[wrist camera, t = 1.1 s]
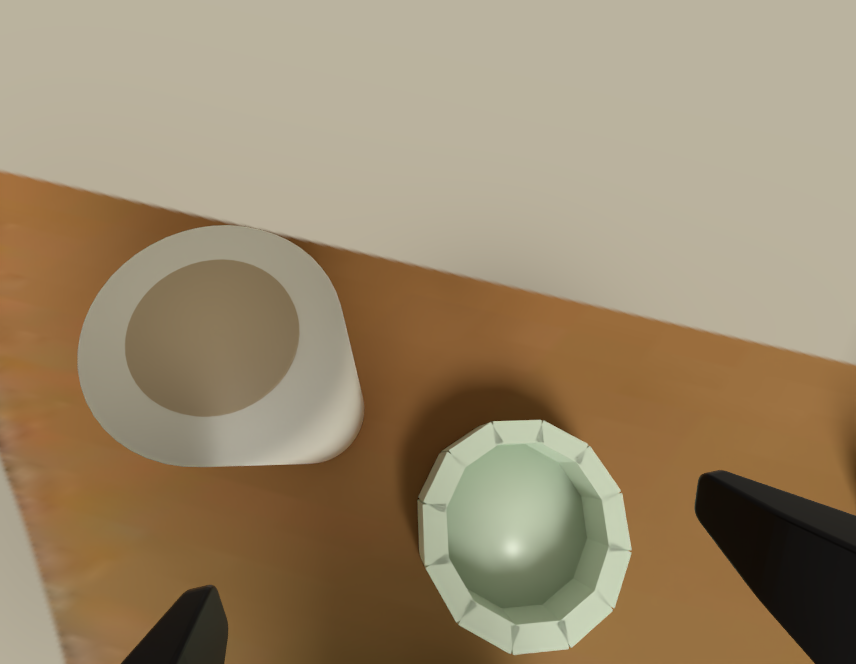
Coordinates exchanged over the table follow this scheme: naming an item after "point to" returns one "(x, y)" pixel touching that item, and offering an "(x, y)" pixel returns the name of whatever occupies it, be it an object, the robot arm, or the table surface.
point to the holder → (524, 535)
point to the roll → (222, 353)
